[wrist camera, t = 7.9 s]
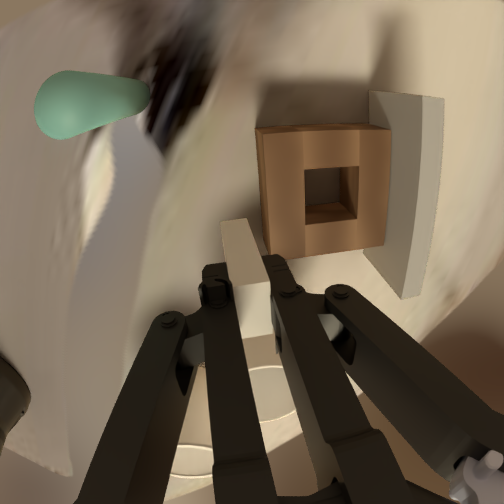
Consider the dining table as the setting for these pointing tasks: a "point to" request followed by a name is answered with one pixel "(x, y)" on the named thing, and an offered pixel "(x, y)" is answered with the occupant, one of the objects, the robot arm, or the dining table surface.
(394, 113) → the wall
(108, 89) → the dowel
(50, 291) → the dining table surface
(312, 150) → the block
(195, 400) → the mug
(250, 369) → the cup
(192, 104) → the dining table surface
